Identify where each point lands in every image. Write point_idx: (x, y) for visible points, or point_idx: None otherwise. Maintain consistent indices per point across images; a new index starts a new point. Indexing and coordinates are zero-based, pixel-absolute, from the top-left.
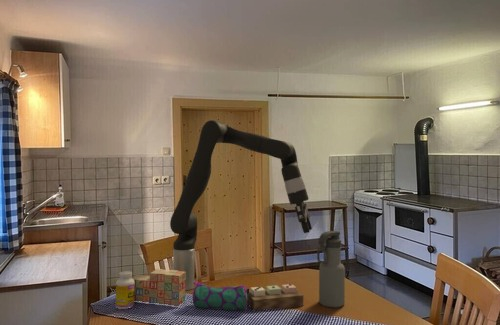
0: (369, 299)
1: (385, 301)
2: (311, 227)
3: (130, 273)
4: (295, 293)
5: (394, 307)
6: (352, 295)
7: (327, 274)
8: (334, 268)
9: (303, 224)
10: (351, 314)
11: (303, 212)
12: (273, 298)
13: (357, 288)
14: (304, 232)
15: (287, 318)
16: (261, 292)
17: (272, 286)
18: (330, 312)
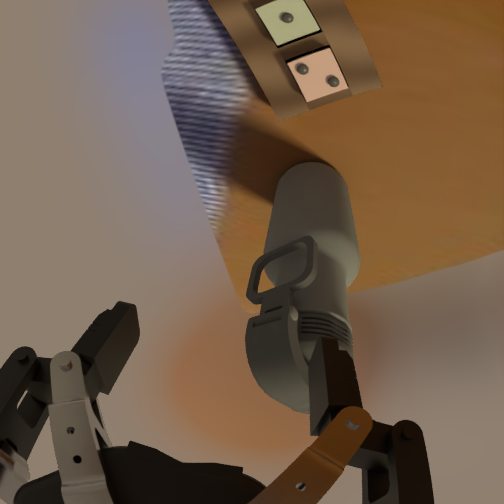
0: None
1: None
2: (308, 379)
3: None
4: (293, 95)
5: None
6: (377, 249)
7: (268, 234)
8: (266, 270)
9: (79, 357)
10: (243, 223)
11: (26, 446)
12: (225, 26)
13: (423, 268)
14: (120, 306)
15: (173, 77)
16: None
17: (288, 13)
18: (245, 180)
